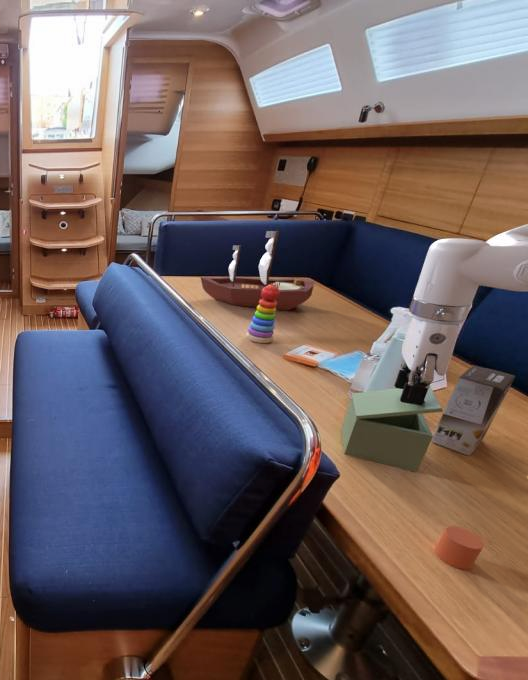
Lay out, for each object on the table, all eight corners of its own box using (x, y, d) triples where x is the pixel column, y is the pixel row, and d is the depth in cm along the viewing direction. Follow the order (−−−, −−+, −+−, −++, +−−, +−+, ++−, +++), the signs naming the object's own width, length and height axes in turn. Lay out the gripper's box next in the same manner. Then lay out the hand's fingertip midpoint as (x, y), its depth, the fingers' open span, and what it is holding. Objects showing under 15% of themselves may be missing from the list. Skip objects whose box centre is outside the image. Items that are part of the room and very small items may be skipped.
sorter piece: (467, 552, 66) (478, 532, 64) (475, 574, 63) (488, 553, 61) (431, 541, 68) (441, 521, 66) (438, 562, 65) (449, 541, 63)
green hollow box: (407, 444, 89) (421, 410, 86) (416, 472, 82) (433, 436, 78) (340, 429, 95) (351, 396, 91) (344, 454, 88) (356, 419, 84)
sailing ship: (309, 316, 155) (330, 236, 143) (195, 304, 173) (205, 232, 161) (305, 301, 169) (323, 228, 157) (199, 291, 187) (209, 225, 175)
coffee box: (470, 457, 85) (504, 390, 78) (429, 441, 90) (458, 377, 83) (483, 440, 89) (516, 375, 83) (443, 426, 94) (472, 363, 88)
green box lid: (430, 387, 83) (423, 364, 83) (443, 411, 76) (436, 387, 75) (352, 396, 91) (345, 375, 90) (357, 419, 84) (350, 397, 83)
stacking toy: (258, 345, 135) (270, 290, 128) (240, 336, 142) (250, 283, 135) (278, 341, 137) (291, 287, 129) (259, 332, 144) (270, 280, 136)
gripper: (484, 329, 66) (445, 423, 74) (453, 297, 79) (422, 380, 87) (421, 323, 70) (390, 413, 77) (401, 293, 83) (376, 373, 90)
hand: (407, 394), depth 82 cm, fingers closed on green box lid, 5 cm apart
